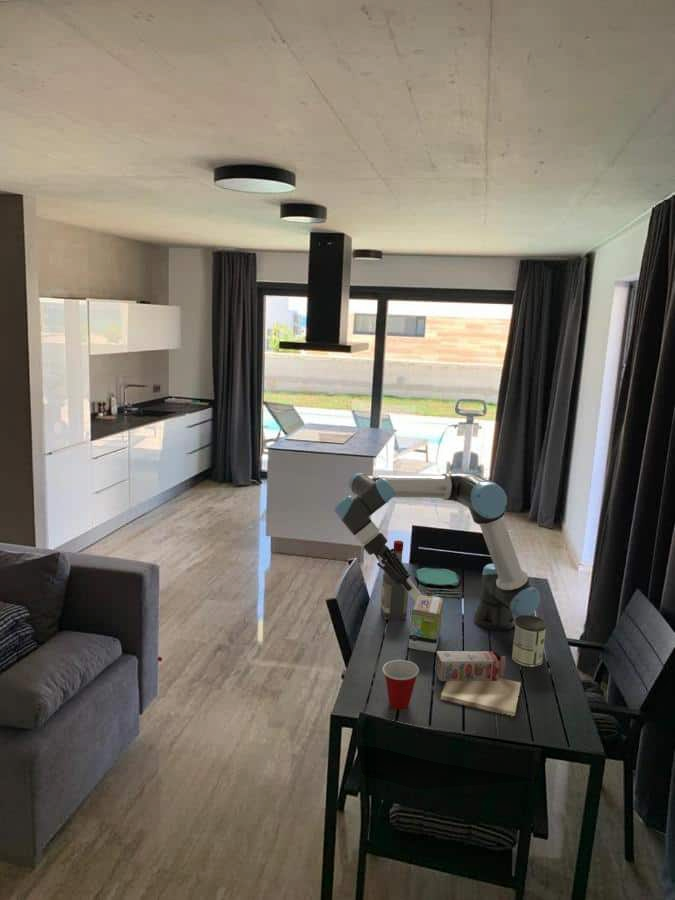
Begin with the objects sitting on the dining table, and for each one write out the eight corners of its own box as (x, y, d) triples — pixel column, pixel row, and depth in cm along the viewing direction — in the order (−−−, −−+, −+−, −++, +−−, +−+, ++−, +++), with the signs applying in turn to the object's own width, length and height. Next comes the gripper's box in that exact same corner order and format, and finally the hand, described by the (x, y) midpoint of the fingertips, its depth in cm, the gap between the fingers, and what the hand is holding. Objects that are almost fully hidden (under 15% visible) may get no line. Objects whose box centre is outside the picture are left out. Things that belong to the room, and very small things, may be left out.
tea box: (436, 653, 232) (440, 613, 230) (407, 648, 235) (410, 609, 232) (440, 634, 247) (443, 596, 244) (413, 630, 249) (416, 592, 246)
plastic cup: (377, 694, 205) (380, 658, 202) (412, 694, 206) (415, 658, 203) (382, 715, 194) (385, 677, 192) (419, 715, 195) (422, 677, 193)
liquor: (402, 610, 265) (407, 538, 260) (407, 620, 257) (413, 546, 251) (379, 610, 264) (384, 538, 258) (384, 621, 255) (389, 546, 249)
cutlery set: (456, 572, 309) (456, 568, 309) (466, 600, 280) (466, 595, 279) (413, 570, 310) (413, 566, 309) (418, 598, 280) (418, 593, 280)
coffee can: (512, 649, 238) (516, 612, 235) (542, 655, 234) (547, 618, 232) (510, 663, 228) (514, 624, 225) (541, 669, 225) (546, 630, 222)
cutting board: (440, 699, 204) (441, 694, 204) (451, 671, 221) (452, 667, 220) (514, 716, 197) (515, 712, 196) (520, 686, 213) (520, 682, 213)
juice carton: (436, 651, 217) (502, 651, 219) (434, 670, 218) (500, 670, 220) (441, 661, 210) (509, 661, 212) (439, 681, 211) (507, 680, 214)
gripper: (368, 539, 223) (413, 595, 221) (356, 551, 211) (404, 611, 209) (385, 526, 221) (430, 583, 219) (374, 538, 209) (422, 598, 206)
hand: (417, 596), depth 214 cm, fingers closed
